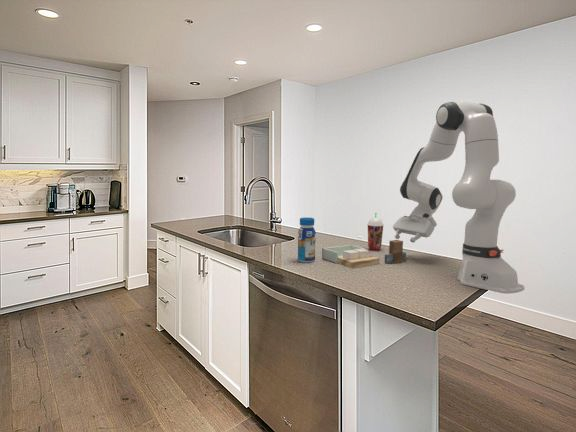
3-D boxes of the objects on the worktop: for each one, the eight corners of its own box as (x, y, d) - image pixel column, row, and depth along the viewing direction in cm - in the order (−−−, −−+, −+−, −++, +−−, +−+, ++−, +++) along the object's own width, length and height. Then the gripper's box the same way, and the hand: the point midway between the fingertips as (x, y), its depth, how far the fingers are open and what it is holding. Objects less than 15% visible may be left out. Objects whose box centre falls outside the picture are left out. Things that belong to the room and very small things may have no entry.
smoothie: (382, 251, 192) (384, 213, 190) (366, 250, 194) (368, 213, 192) (382, 248, 200) (383, 212, 198) (366, 247, 202) (367, 211, 200)
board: (379, 263, 167) (379, 258, 166) (352, 268, 158) (352, 262, 158) (364, 259, 175) (364, 254, 175) (338, 263, 167) (338, 257, 167)
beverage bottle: (299, 258, 176) (299, 216, 174) (316, 259, 174) (317, 217, 172) (295, 262, 168) (296, 219, 166) (314, 263, 166) (314, 219, 164)
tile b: (358, 258, 166) (358, 251, 166) (350, 259, 163) (350, 253, 163) (351, 256, 170) (351, 249, 170) (342, 257, 168) (343, 250, 167)
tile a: (368, 256, 169) (368, 250, 169) (360, 258, 166) (360, 251, 166) (361, 254, 173) (361, 248, 173) (352, 255, 171) (353, 249, 170)
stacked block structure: (407, 261, 172) (408, 240, 171) (388, 264, 166) (389, 242, 165) (401, 259, 175) (402, 239, 174) (383, 262, 169) (384, 241, 168)
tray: (366, 259, 176) (366, 248, 175) (336, 263, 166) (336, 252, 166) (350, 254, 185) (351, 244, 184) (322, 258, 176) (322, 248, 175)
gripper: (399, 211, 183) (384, 232, 179) (434, 216, 166) (418, 239, 162) (405, 219, 186) (390, 240, 182) (440, 225, 168) (424, 248, 165)
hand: (403, 239), depth 172 cm, fingers open, 8 cm apart
